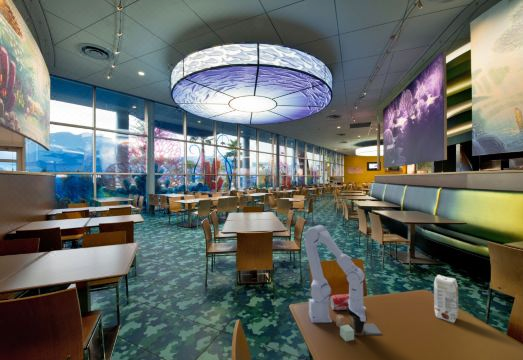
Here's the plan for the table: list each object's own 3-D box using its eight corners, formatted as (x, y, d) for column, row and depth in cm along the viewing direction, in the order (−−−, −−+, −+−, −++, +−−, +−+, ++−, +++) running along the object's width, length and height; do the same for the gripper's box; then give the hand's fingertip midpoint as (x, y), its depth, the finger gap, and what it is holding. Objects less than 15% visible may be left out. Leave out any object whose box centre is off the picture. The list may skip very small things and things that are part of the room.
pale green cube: (345, 341, 97) (345, 331, 98) (340, 335, 101) (339, 326, 101) (354, 339, 99) (354, 330, 99) (348, 333, 102) (348, 324, 102)
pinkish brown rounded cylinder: (337, 327, 107) (337, 318, 107) (334, 323, 110) (334, 314, 110) (345, 327, 107) (345, 318, 107) (342, 323, 110) (342, 314, 110)
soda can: (351, 296, 129) (328, 297, 128) (355, 291, 123) (331, 293, 123) (356, 310, 124) (331, 312, 123) (360, 306, 119) (334, 308, 118)
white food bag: (456, 324, 108) (455, 283, 109) (433, 317, 115) (432, 277, 115) (459, 318, 113) (458, 278, 114) (437, 311, 120) (436, 273, 120)
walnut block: (353, 335, 101) (353, 321, 101) (349, 328, 106) (349, 315, 106) (363, 335, 101) (363, 321, 101) (359, 328, 106) (359, 315, 106)
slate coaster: (365, 334, 102) (365, 333, 102) (358, 325, 109) (358, 323, 109) (381, 334, 102) (381, 333, 102) (373, 324, 109) (373, 323, 109)
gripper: (373, 305, 97) (373, 339, 96) (358, 289, 111) (358, 319, 111) (355, 305, 96) (356, 339, 96) (343, 290, 111) (343, 319, 111)
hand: (356, 328), depth 104 cm, fingers closed on walnut block, 4 cm apart
